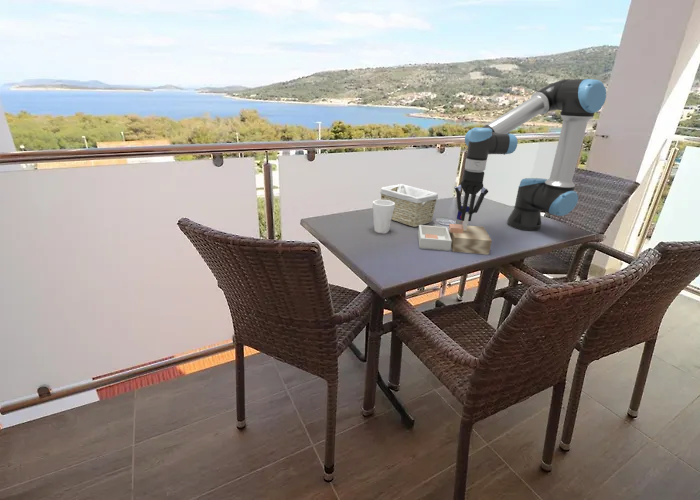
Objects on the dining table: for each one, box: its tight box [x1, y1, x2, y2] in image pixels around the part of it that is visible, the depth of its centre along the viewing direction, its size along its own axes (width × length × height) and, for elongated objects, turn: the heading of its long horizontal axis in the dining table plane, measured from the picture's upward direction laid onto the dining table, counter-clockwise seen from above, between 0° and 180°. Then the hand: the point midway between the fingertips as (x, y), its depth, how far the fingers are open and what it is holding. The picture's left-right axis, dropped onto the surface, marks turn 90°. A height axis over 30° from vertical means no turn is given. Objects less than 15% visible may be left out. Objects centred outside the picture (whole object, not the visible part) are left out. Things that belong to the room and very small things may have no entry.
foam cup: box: [372, 199, 395, 234], centre depth 163 cm, size 10×9×13 cm
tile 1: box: [425, 234, 438, 239], centre depth 155 cm, size 5×5×2 cm
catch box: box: [417, 224, 452, 252], centre depth 154 cm, size 12×16×4 cm
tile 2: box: [448, 223, 463, 233], centre depth 152 cm, size 5×5×2 cm
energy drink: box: [455, 202, 470, 226], centre depth 169 cm, size 5×5×12 cm
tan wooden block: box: [448, 225, 493, 256], centre depth 153 cm, size 14×16×6 cm
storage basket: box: [379, 183, 439, 228], centre depth 180 cm, size 24×16×15 cm
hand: (464, 228), depth 151 cm, fingers closed
